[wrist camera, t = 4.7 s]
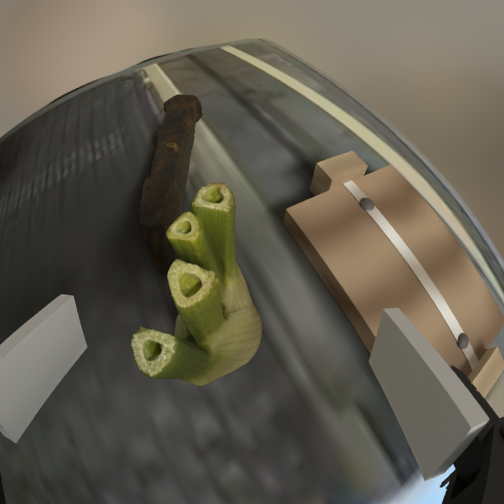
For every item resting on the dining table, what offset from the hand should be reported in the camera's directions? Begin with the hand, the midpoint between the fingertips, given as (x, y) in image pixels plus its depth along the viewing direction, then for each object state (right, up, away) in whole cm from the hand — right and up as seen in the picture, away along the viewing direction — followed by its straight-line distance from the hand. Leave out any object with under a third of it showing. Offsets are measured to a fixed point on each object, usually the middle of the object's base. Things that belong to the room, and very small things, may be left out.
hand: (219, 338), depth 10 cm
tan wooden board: (+13, +1, +9) cm, 16 cm away
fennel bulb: (-1, -2, +7) cm, 7 cm away
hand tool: (-5, +10, +14) cm, 18 cm away
